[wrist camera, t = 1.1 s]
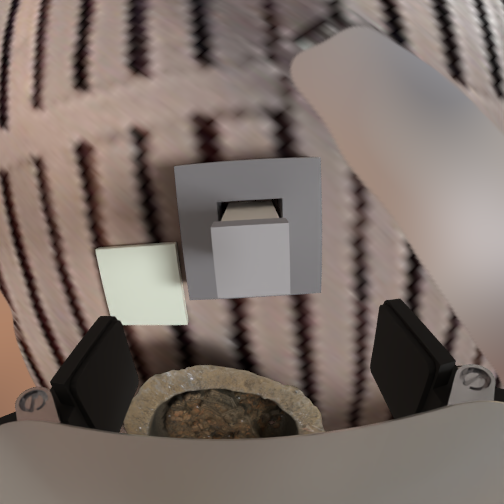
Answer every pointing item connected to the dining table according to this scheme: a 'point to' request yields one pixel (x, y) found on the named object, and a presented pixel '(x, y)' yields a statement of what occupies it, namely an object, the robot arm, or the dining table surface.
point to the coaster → (143, 283)
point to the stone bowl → (219, 406)
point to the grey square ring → (251, 188)
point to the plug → (251, 251)
